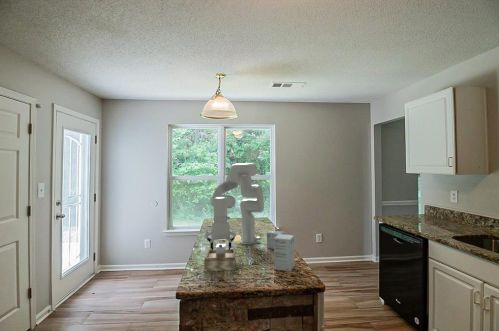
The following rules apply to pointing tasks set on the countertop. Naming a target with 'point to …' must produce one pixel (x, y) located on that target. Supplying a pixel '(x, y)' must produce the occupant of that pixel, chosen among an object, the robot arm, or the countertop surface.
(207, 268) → the tray
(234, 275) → the countertop surface
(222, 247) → the block
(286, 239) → the supplement box
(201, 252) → the countertop surface
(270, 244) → the light bulb box
